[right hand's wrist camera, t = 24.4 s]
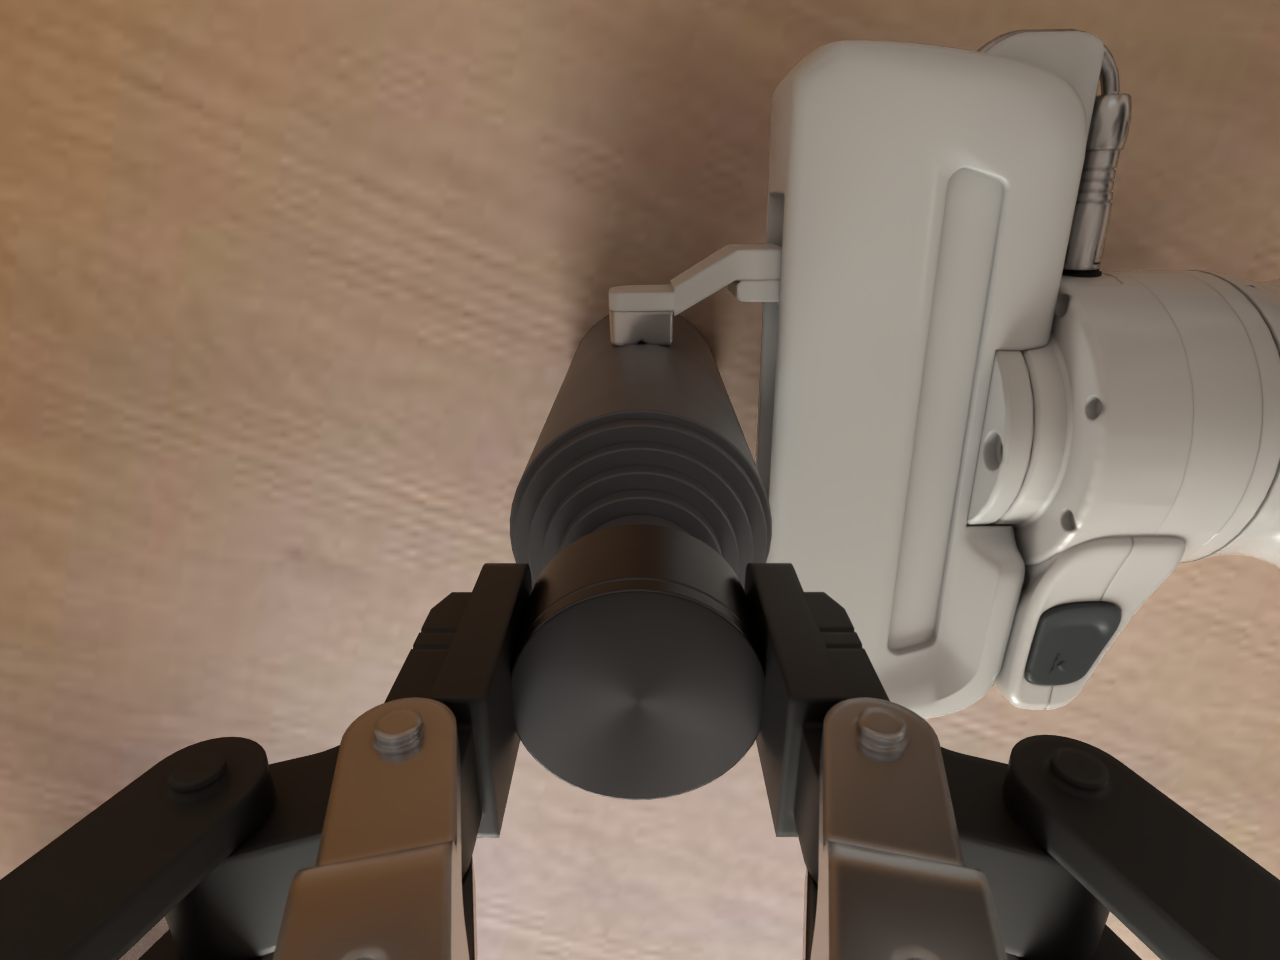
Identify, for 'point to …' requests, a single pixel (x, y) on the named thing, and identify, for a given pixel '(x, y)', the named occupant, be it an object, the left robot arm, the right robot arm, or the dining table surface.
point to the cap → (638, 665)
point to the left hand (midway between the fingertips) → (613, 430)
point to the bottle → (642, 454)
